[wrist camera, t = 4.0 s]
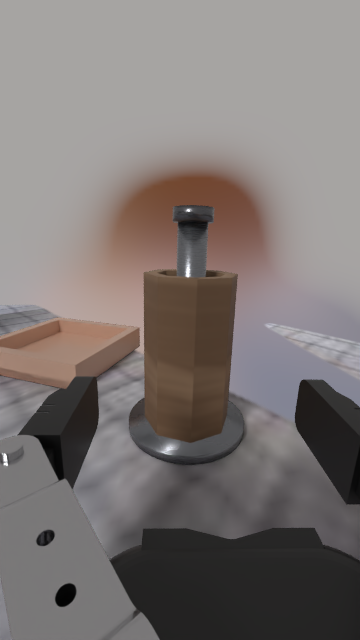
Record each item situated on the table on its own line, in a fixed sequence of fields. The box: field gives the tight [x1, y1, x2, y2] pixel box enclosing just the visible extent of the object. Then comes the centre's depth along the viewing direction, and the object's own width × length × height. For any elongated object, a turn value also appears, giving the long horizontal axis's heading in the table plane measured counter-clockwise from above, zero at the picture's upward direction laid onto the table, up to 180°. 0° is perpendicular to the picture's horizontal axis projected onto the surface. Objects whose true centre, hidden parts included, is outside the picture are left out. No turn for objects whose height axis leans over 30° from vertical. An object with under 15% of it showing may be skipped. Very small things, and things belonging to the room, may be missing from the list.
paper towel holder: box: [129, 205, 244, 464], centre depth 19 cm, size 8×8×14 cm
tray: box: [0, 317, 140, 389], centre depth 32 cm, size 12×12×2 cm
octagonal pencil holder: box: [144, 269, 238, 443], centre depth 20 cm, size 5×7×10 cm
